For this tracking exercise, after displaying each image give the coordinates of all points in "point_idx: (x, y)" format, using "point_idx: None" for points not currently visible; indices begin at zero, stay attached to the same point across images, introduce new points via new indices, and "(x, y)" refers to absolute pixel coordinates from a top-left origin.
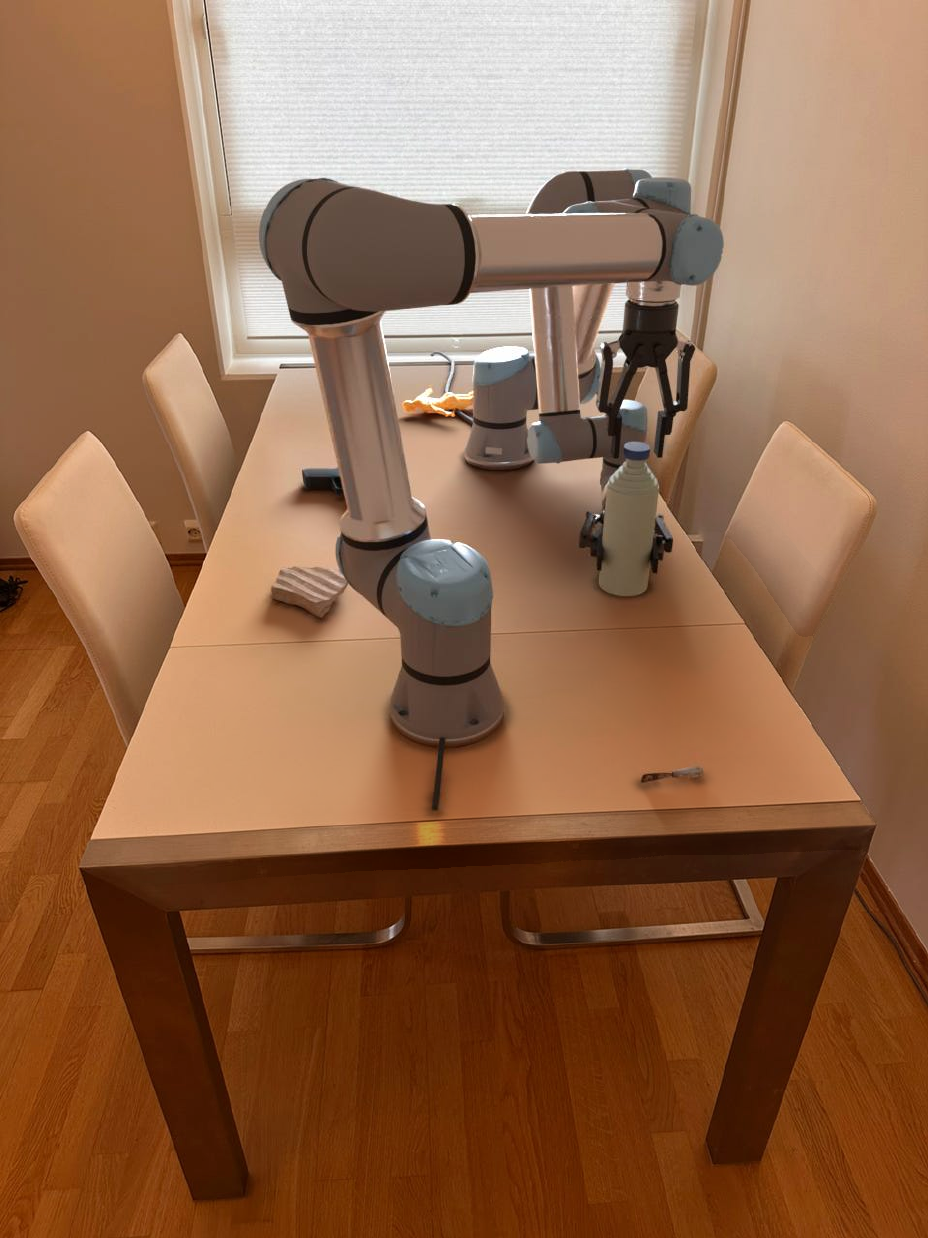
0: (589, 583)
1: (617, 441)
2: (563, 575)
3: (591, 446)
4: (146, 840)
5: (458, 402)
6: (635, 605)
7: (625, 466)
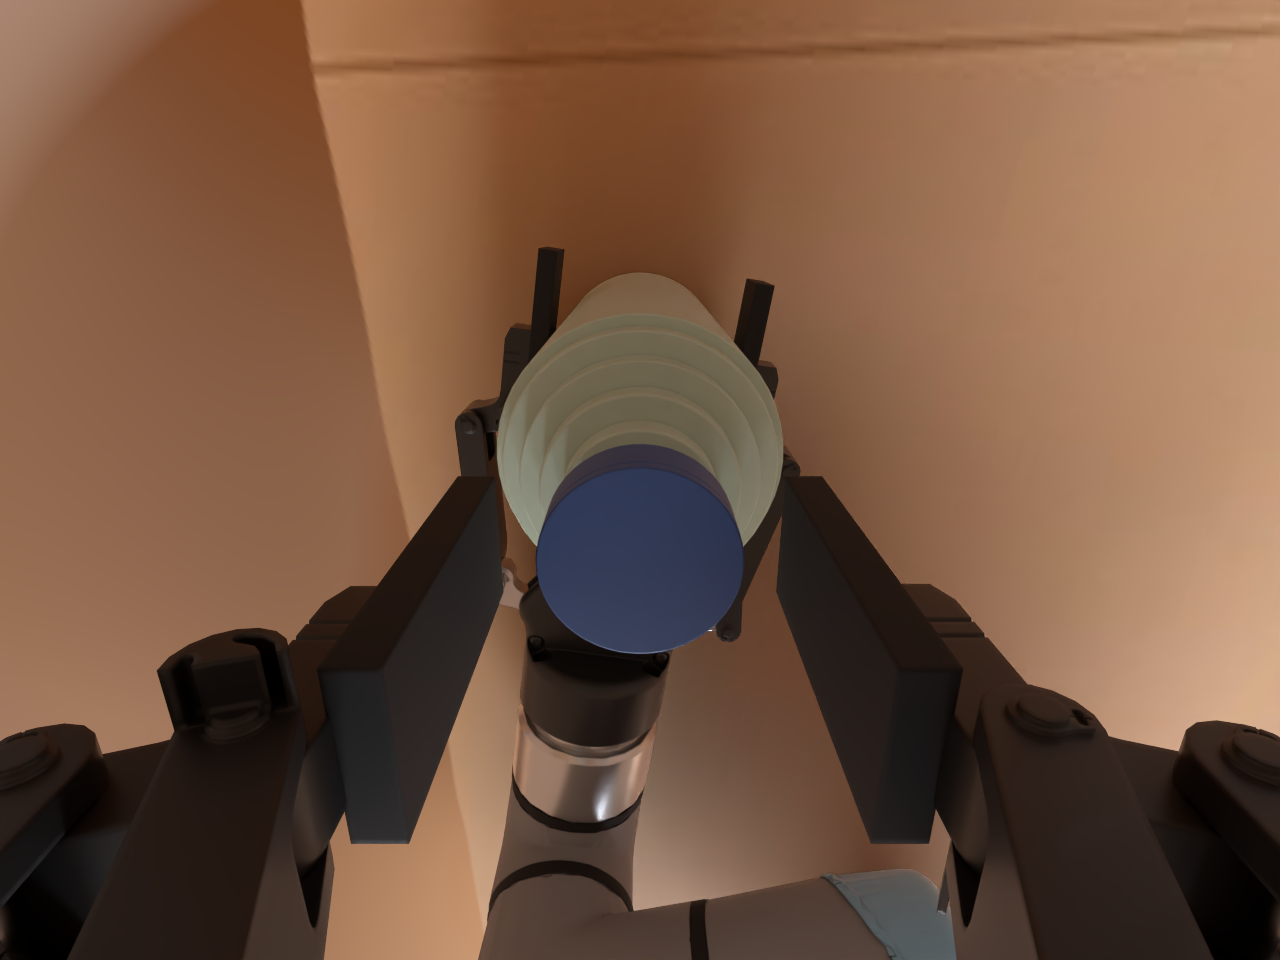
0: None
1: (842, 532)
2: (814, 415)
3: (713, 934)
4: None
5: None
6: (624, 212)
7: None
